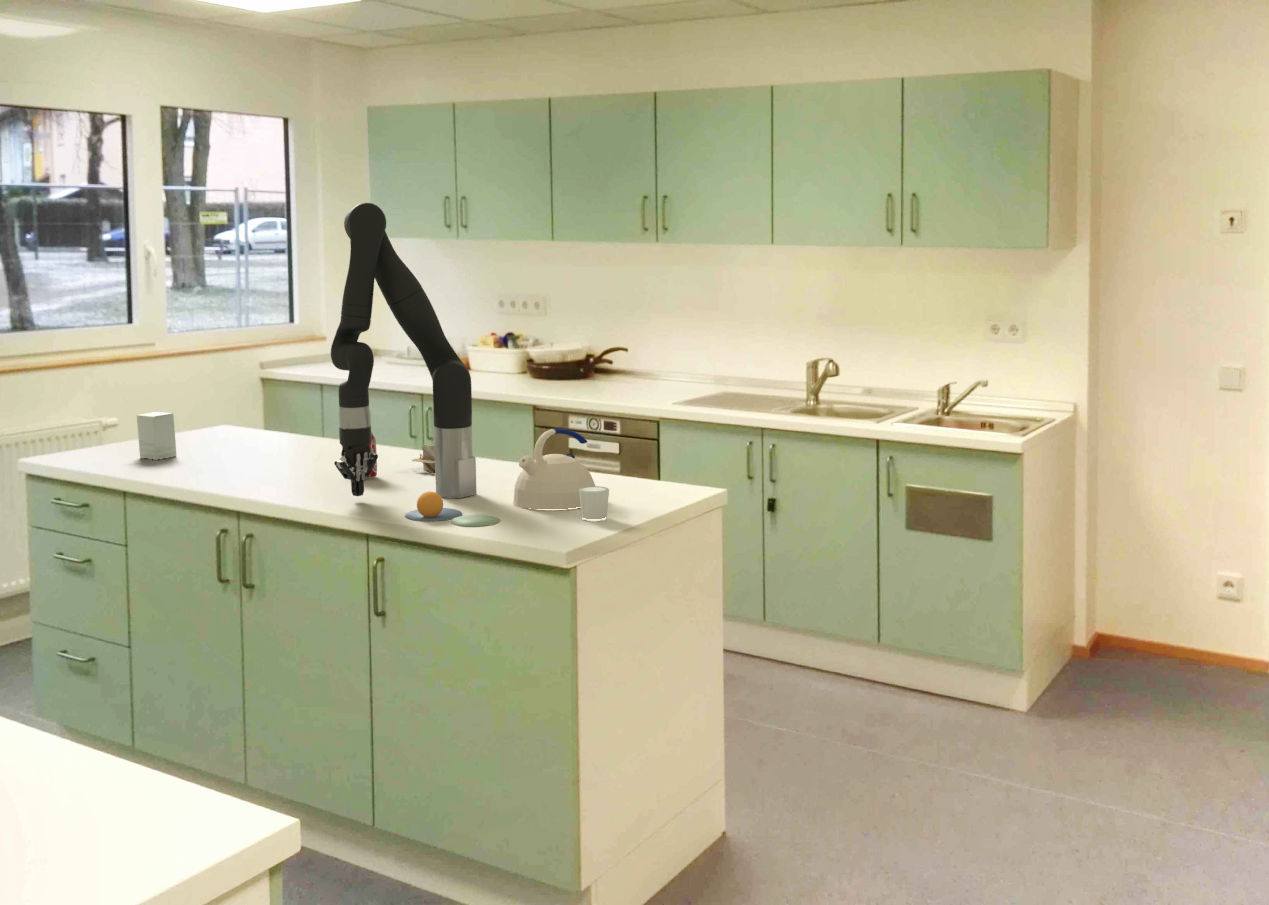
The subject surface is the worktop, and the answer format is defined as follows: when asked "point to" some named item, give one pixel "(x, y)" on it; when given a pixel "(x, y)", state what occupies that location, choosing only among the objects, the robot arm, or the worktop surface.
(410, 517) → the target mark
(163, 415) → the supplement box
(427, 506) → the ball
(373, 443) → the soda can
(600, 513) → the shot glass
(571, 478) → the kettle
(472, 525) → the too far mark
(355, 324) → the robot arm
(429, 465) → the architectural model
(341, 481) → the worktop surface
